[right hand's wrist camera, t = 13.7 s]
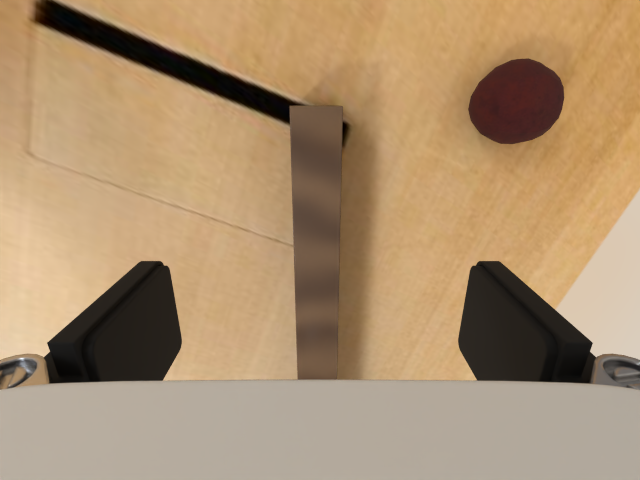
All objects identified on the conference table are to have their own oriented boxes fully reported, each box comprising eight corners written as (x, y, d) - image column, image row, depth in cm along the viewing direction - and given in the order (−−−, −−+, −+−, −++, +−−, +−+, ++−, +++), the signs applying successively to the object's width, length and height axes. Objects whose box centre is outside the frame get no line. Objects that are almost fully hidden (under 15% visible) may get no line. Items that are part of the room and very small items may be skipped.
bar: (295, 105, 36) (289, 106, 29) (338, 105, 36) (342, 106, 29) (304, 496, 58) (302, 548, 51) (331, 496, 58) (333, 548, 51)
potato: (532, 134, 37) (578, 140, 30) (458, 145, 37) (487, 153, 31) (537, 57, 34) (589, 46, 28) (458, 69, 35) (490, 61, 28)
